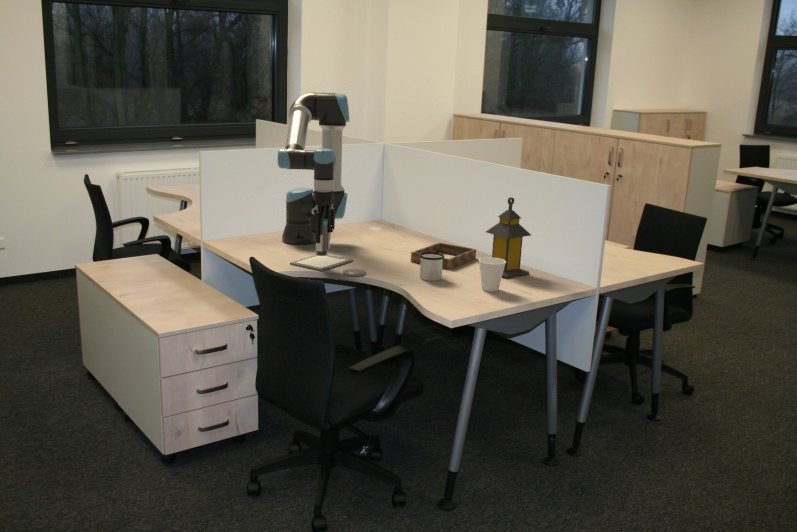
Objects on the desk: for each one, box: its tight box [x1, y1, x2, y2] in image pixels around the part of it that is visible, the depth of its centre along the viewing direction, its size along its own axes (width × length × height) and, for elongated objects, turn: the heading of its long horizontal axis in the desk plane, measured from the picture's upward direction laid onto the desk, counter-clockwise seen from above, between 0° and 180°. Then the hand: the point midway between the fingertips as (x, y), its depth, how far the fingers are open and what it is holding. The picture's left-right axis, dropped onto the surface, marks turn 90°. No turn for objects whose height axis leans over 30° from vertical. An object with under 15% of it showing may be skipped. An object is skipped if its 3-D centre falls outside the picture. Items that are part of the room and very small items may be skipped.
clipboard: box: [289, 253, 354, 272], centre depth 298 cm, size 20×16×1 cm
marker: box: [316, 218, 328, 256], centre depth 288 cm, size 4×4×14 cm
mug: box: [419, 252, 445, 282], centre depth 283 cm, size 12×10×9 cm
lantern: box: [485, 197, 532, 280], centre depth 292 cm, size 14×14×30 cm
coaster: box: [342, 268, 367, 278], centre depth 285 cm, size 9×9×1 cm
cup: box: [478, 256, 506, 293], centre depth 270 cm, size 10×10×11 cm
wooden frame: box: [410, 242, 477, 270], centre depth 310 cm, size 23×18×4 cm
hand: (322, 249), depth 289 cm, fingers closed on marker, 4 cm apart
